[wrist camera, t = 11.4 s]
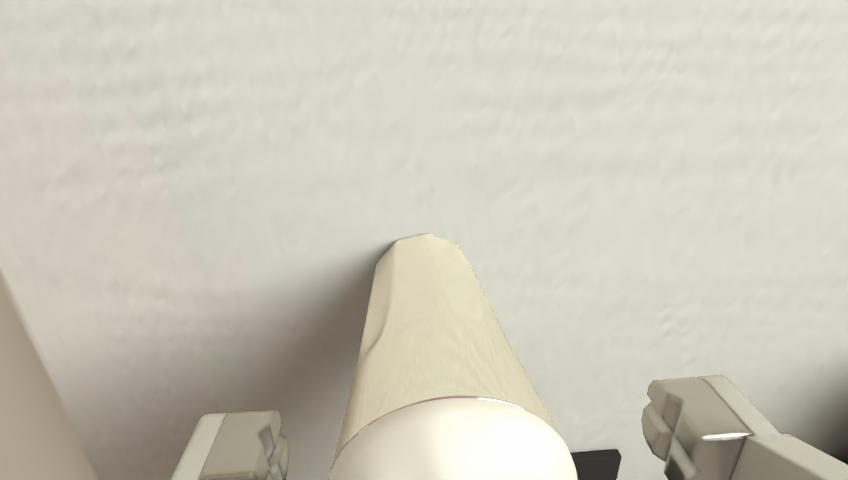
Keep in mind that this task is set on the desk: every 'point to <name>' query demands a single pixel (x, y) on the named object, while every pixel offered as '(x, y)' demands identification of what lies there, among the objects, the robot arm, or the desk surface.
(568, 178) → the desk surface
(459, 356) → the milkshake
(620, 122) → the desk surface
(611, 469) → the mat
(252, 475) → the robot arm
